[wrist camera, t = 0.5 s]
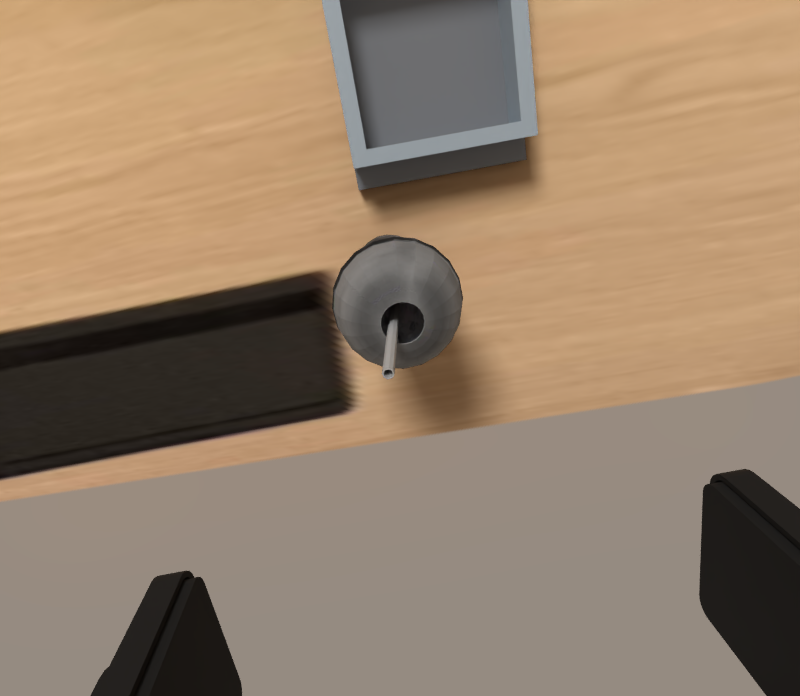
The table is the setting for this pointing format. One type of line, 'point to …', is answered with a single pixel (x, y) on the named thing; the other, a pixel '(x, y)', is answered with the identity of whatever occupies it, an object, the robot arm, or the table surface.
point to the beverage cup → (397, 302)
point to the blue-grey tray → (432, 85)
